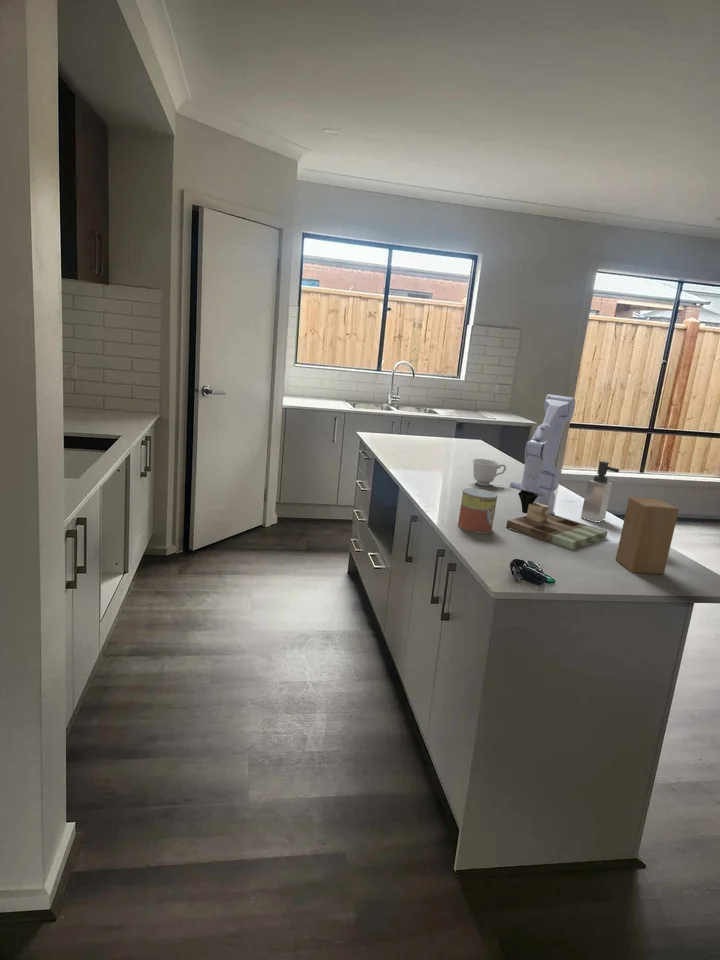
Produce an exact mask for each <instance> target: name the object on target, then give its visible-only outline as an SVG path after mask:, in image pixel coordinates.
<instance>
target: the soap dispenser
mask: <svg viewBox="0 0 720 960" xmlns="http://www.w3.org/2000/svg"><path fill="white" fill-rule="evenodd" d="M609 463H610V462H608V461H605V460H604V461H601V460H599V461H598V467H597V475H594V477H593V479H591V480H587V485H586V488H585V489H586V490H585V495H584V498H583V499H584V500H583V505H582V509H581V515H580V519H581V518H585V519H589V520H593V521H597V522H598V521H601V520H603V519H606V515H607V509H608V504H609V500H610V496H611V495H610V494H611V490H612V485H613V482H609V481H608V476H607V471H610V472H614V473H619V472H620V468H616V467H612V466H609ZM585 519H584V520H585Z"/></svg>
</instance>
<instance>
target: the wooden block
mask: <svg viewBox="0 0 720 960" xmlns="http://www.w3.org/2000/svg"><path fill="white" fill-rule="evenodd" d="M627 500H628V502H627V505H626V510H625V515H624V518H623V519H624V520H623V524H622V529H621V533H620V539H619V543H618V547H617V552H616V556H615V561H617V563H619V564H620V565H622V566H623V567H625V569H627V570H628V571H630V572H631V573H635V574H636V573H637V574H638V573H639V574H651V575H664V574H665V570H666V567H667V562H668V557H669V553H670V550H671V549H670V548H671V545H672V541H673V537H674V532H675V528H676V523H677V520H678V515H679V508H677V507H676V506H673V505H672V504H670V503H668V502H666V501H663V500H661V499H658V498H657V499H656V498H655V499H654V498H646V497H644V498H643V497H633V496H632V497H631V496H630V497H628V499H627Z"/></svg>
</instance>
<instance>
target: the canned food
mask: <svg viewBox="0 0 720 960" xmlns="http://www.w3.org/2000/svg"><path fill="white" fill-rule="evenodd" d="M497 501H498V494H497V493H496V492H493V491H490V490H487V489H482V488H476V487H475V488H474V487H473V488H472V487H471V488H469V487H468V488H463V489H462V496H461V503H460V509H459V515H458V516H459V517H458V523H457V528H459V527H460V529H461V528H462V529H461V530H463V529H464V531H466V530H468V531H467V532H469V531H472V532H471V533H474V532H479V533H478V534H488V533H487V532H490V533H492V531H493V525H494V518H495V514H496V513H495V512H496V505H497ZM485 532H486V533H485Z"/></svg>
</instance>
